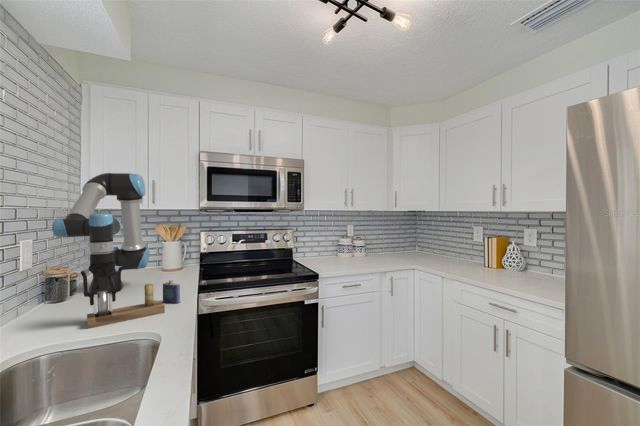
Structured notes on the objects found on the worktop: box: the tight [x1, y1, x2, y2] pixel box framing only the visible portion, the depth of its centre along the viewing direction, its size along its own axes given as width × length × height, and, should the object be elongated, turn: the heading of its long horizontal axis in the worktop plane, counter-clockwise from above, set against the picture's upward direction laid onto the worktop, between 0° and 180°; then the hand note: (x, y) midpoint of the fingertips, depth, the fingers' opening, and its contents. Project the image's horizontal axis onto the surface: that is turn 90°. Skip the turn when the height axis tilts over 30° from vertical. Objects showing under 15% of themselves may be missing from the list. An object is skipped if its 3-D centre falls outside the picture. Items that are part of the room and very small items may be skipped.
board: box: [86, 283, 166, 329], centre depth 122 cm, size 9×26×12 cm, turn 130°
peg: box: [96, 291, 109, 317], centre depth 117 cm, size 3×3×12 cm
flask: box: [162, 280, 181, 305], centre depth 140 cm, size 9×3×11 cm, turn 74°
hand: (103, 311), depth 117 cm, fingers open, 4 cm apart
